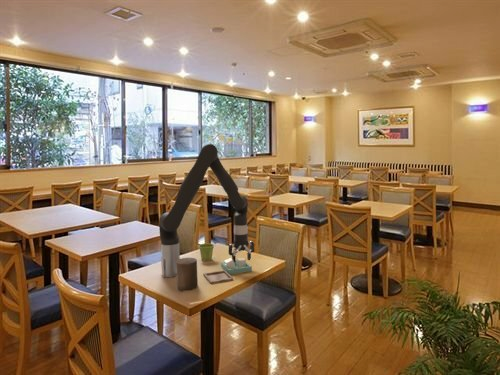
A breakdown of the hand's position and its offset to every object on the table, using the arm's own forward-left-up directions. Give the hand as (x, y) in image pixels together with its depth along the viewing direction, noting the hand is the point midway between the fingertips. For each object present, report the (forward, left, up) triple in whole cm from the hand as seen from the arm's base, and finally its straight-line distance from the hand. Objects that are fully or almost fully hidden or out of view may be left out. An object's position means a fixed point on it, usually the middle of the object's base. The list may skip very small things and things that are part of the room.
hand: (241, 260), depth 195 cm
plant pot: (-13, +24, -5) cm, 28 cm away
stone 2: (0, 0, -4) cm, 4 cm away
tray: (-16, -8, -5) cm, 19 cm away
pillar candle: (-33, -13, -5) cm, 36 cm away
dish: (-3, 0, -4) cm, 6 cm away
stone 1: (-6, 0, -3) cm, 7 cm away
